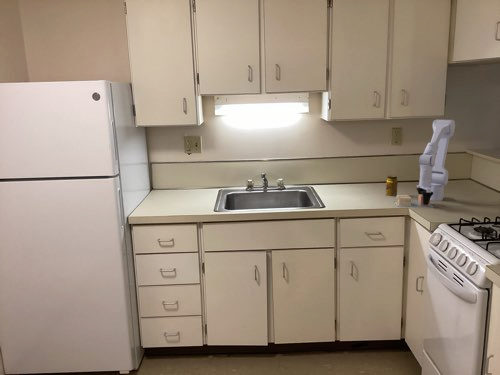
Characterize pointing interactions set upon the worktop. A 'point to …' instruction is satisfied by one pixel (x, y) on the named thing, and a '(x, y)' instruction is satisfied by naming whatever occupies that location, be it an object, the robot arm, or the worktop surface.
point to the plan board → (412, 204)
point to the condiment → (391, 186)
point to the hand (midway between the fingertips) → (423, 203)
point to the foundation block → (403, 200)
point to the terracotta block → (421, 201)
